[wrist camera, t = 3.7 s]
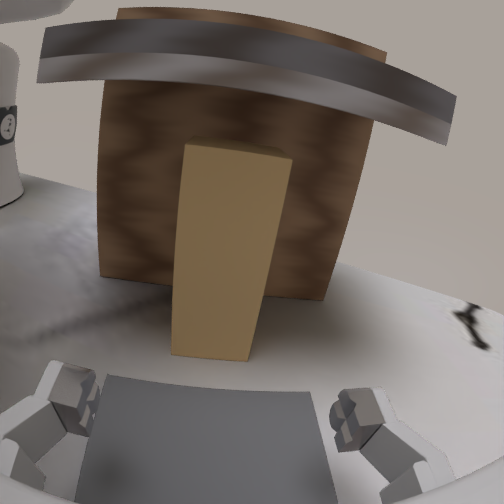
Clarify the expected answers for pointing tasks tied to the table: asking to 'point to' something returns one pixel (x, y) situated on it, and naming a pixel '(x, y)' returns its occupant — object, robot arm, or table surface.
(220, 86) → the wooden block with ledge
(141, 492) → the mat
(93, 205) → the table surface
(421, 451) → the robot arm
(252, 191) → the tall wooden pillar block
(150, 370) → the table surface
